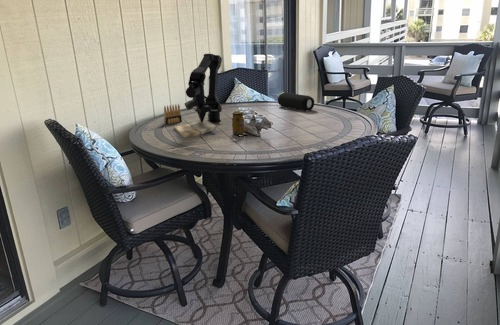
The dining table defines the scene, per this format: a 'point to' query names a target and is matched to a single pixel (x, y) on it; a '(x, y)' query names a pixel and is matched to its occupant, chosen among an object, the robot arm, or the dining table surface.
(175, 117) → the ammunition clip
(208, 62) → the robot arm
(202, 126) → the loose plank
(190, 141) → the dining table surface
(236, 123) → the condiment
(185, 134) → the plank
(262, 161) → the dining table surface
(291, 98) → the portable speaker
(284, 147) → the dining table surface
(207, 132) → the underlay mat
